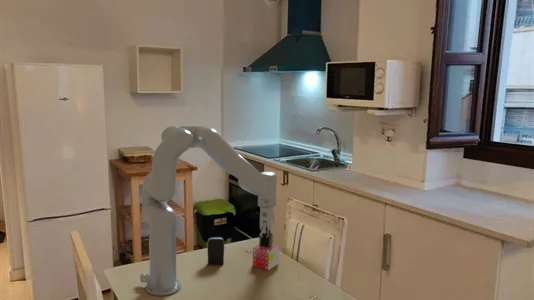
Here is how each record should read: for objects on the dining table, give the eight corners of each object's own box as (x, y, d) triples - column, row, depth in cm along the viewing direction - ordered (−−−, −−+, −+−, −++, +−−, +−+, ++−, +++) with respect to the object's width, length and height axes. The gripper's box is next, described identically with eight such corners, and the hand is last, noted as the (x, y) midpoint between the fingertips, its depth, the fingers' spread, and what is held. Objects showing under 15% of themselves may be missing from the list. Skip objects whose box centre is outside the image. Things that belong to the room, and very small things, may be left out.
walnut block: (259, 246, 176) (259, 235, 175) (261, 242, 181) (261, 231, 180) (271, 247, 175) (271, 236, 175) (272, 243, 180) (273, 232, 179)
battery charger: (223, 260, 182) (223, 235, 180) (224, 264, 178) (224, 238, 177) (207, 261, 181) (207, 236, 179) (207, 265, 177) (207, 239, 175)
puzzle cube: (268, 270, 174) (268, 252, 173) (252, 265, 178) (253, 247, 177) (278, 263, 181) (279, 246, 180) (263, 259, 185) (263, 241, 184)
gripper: (273, 208, 166) (272, 252, 169) (278, 197, 183) (277, 237, 186) (254, 207, 168) (253, 250, 170) (261, 196, 184) (260, 236, 187)
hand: (266, 243), depth 178 cm, fingers closed on walnut block, 4 cm apart
